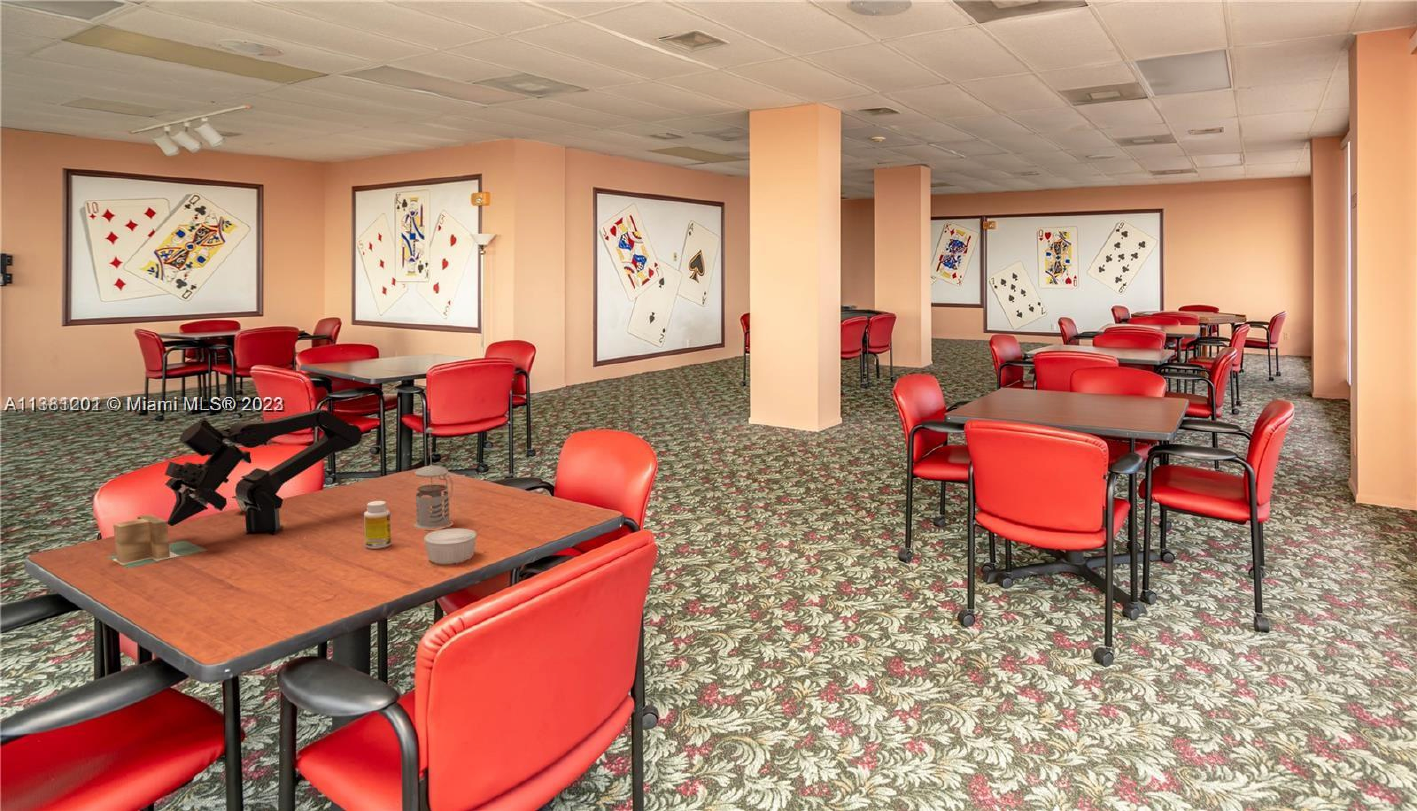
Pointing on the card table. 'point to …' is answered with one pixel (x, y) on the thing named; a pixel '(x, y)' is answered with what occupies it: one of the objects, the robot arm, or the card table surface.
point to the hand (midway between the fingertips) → (169, 524)
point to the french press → (432, 498)
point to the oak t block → (141, 539)
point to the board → (175, 551)
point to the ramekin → (450, 545)
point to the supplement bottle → (377, 525)
